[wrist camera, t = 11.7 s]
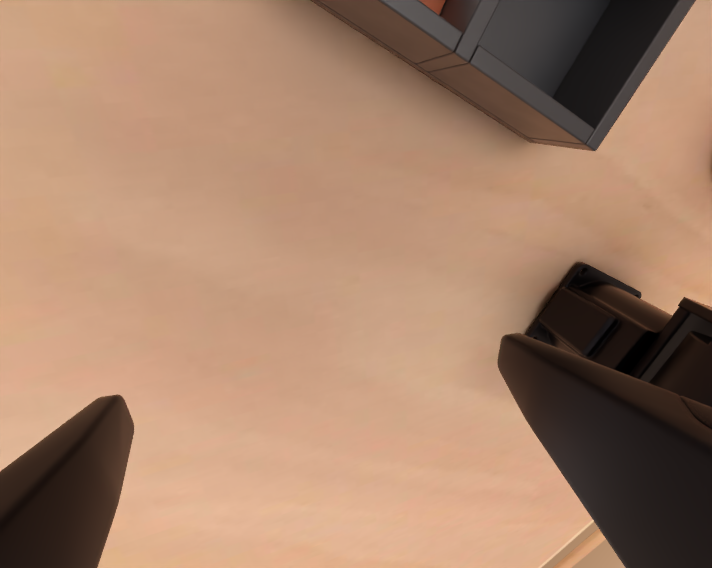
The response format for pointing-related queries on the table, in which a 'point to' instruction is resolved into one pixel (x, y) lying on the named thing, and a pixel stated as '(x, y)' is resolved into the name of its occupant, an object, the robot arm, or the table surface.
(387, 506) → the table surface
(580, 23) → the compartment tray
